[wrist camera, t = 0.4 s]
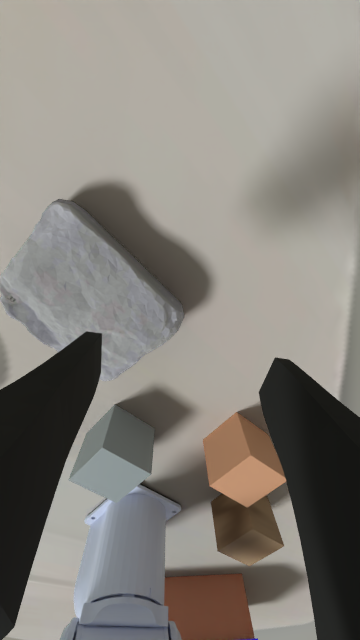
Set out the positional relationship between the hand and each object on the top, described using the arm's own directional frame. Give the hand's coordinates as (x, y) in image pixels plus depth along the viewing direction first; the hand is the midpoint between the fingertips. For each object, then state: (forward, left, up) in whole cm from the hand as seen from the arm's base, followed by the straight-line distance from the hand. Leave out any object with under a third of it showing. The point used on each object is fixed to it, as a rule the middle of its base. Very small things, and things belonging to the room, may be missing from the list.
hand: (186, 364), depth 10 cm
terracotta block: (-8, -15, -11) cm, 20 cm away
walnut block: (-15, -23, -11) cm, 30 cm away
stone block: (-5, +5, -11) cm, 13 cm away
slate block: (-15, -5, -11) cm, 19 cm away
